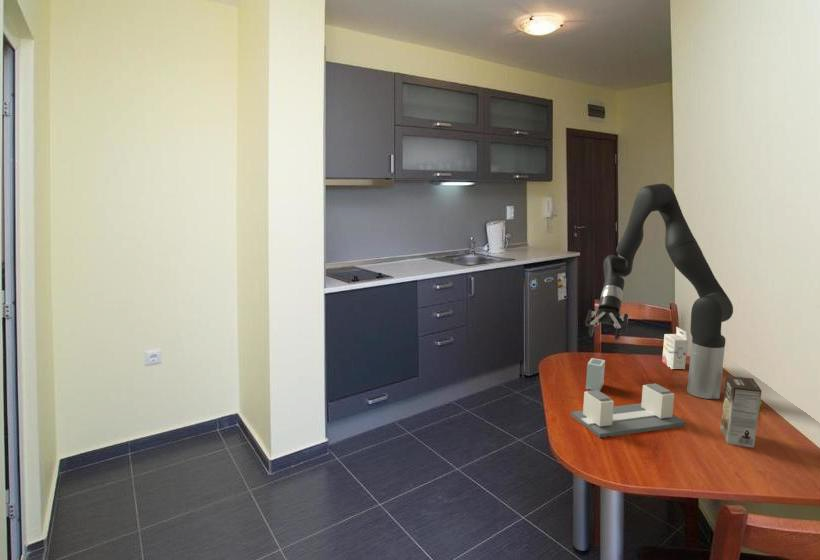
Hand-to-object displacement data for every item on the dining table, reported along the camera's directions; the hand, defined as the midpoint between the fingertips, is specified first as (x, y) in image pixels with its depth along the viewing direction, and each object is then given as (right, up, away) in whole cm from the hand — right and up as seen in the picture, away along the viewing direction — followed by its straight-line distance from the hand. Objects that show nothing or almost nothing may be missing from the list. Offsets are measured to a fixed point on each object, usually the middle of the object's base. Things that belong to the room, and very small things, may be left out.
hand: (603, 337), depth 174 cm
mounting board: (-6, -21, -33) cm, 39 cm away
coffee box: (+19, -23, -43) cm, 52 cm away
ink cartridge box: (+32, -13, +13) cm, 37 cm away
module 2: (+4, -19, -30) cm, 36 cm away
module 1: (-16, -19, -35) cm, 43 cm away
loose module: (-6, -16, -7) cm, 19 cm away
